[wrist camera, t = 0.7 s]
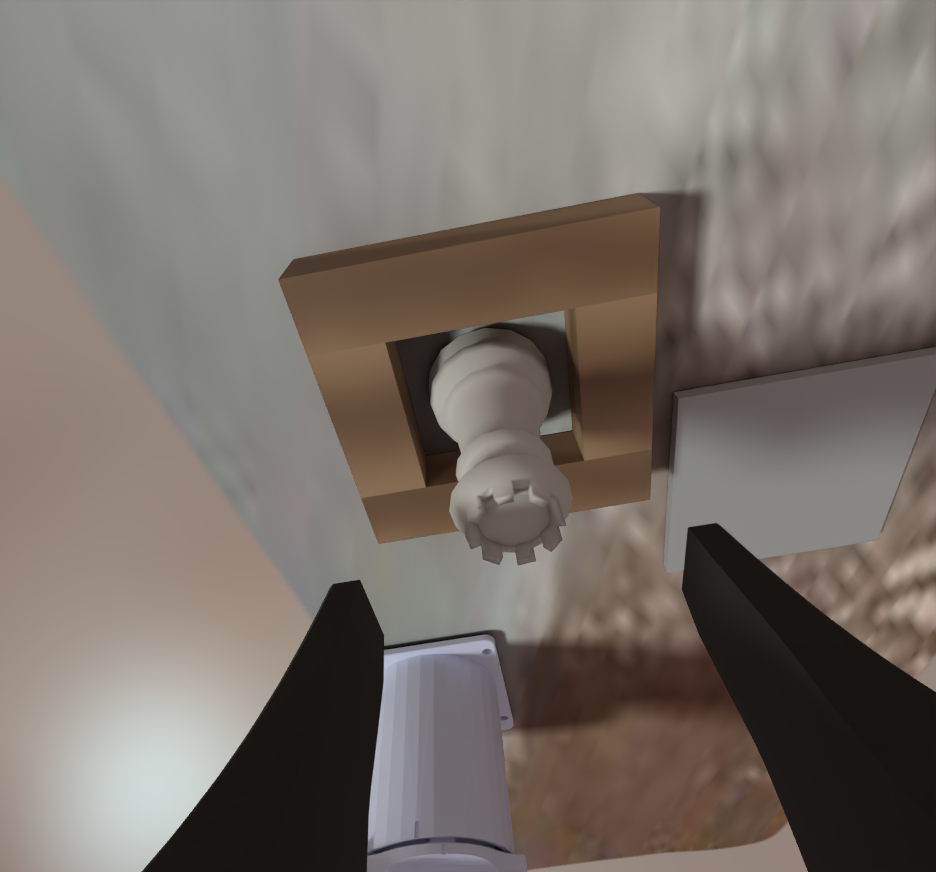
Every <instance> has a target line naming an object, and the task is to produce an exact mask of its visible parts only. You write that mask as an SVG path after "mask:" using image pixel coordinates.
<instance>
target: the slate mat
mask: <svg viewBox="0 0 936 872" xmlns="http://www.w3.org/2000/svg"><path fill="white" fill-rule="evenodd" d="M935 389H936V347H932V348H926V349H920V350H915V351H909V352H903V353H897V354H892V355H886V356H880V357H874V358H868V359H863V360H857V361H851V362H845V363H840V364H834V365H828V366H822V367H817V368H811V369H805V370H799V371H793V372H788V373H782V374H776V375H770V376H765V377H759V378H753V379H747V380H741V381H736V382H730V383H724V384H718V385H713V386H707V387H701V388H695V389H690V390H684V391H678V392H674V396H673V413H672V430H671V446H670V463H669V480H668V497H667V513H666V530H665V547H664V564H663V565H664V568H665V570H666V572H667V573H671V572H678V571H684V562H685V551H686V541H687V530H688V527H693V526H699V525H706V524H712V523H718V524H719V525H720V526H722V527H723V528H724V529H725V530H726V531H727V532H728V533H729V534H731V535H732V536H733V537H734V538H735V539H736V540H737V541H738V542H739V543H741V544H742V545H743V546H744V547H745V548H746V549H747V550H748V551H749V552H751V553H752V554H753V555H754V556H755V557H756V558H757V559H761V558H767V557H774V556H780V555H786V554H793V553H799V552H806V551H812V550H818V549H825V548H831V547H838V546H844V545H850V544H857V543H863V542H870V541H876V540H878V537H879V535H880V532H881V530H882V527H883V524H884V522H885V519H886V516H887V514H888V511H889V509H890V506H891V503H892V501H893V498H894V496H895V493H896V490H897V488H898V485H899V483H900V480H901V477H902V475H903V472H904V470H905V467H906V464H907V462H908V459H909V457H910V454H911V451H912V449H913V446H914V444H915V441H916V438H917V436H918V433H919V430H920V428H921V425H922V423H923V420H924V417H925V415H926V412H927V410H928V407H929V404H930V402H931V399H932V397H933V394H934V391H935Z"/></svg>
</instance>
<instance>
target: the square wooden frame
mask: <svg viewBox="0 0 936 872" xmlns="http://www.w3.org/2000/svg"><path fill="white" fill-rule="evenodd" d="M659 231H660V206H658V205H657V204H655V203H653V202H651V201H650V200H648V199H646V198H645V197H643V196H641V195H639V194H638V193H636V194H631V195H626V196H621V197H616V198H611V199H605V200H600V201H595V202H590V203H585V204H579V205H574V206H569V207H564V208H559V209H553V210H548V211H543V212H538V213H533V214H527V215H522V216H517V217H512V218H507V219H501V220H496V221H491V222H486V223H481V224H476V225H470V226H465V227H460V228H455V229H450V230H444V231H439V232H434V233H429V234H424V235H418V236H413V237H408V238H403V239H398V240H392V241H387V242H382V243H377V244H372V245H366V246H361V247H356V248H351V249H346V250H340V251H335V252H330V253H325V254H320V255H315V256H309V257H304V258H299V259H294V260H293V261H292V262H291V263H290V265H289V266H288V267H287V269H286V270H285V271H284V273H283V274H282V275H281V277H280V278H279V279H278V280H279V283H280V286H281V288H282V291H283V293H284V296H285V299H286V301H287V304H288V307H289V309H290V312H291V314H292V317H293V320H294V322H295V325H296V328H297V330H298V333H299V336H300V338H301V341H302V343H303V346H304V349H305V351H306V354H307V357H308V359H309V362H310V365H311V367H312V370H313V372H314V375H315V378H316V380H317V383H318V386H319V388H320V391H321V394H322V396H323V399H324V401H325V404H326V407H327V409H328V412H329V415H330V417H331V420H332V423H333V425H334V428H335V430H336V433H337V436H338V438H339V441H340V444H341V446H342V449H343V452H344V454H345V457H346V459H347V462H348V465H349V467H350V470H351V473H352V475H353V478H354V481H355V483H356V486H357V488H358V491H359V494H360V496H361V499H362V502H363V504H364V507H365V510H366V512H367V515H368V517H369V520H370V523H371V525H372V528H373V531H374V533H375V536H376V539H377V541H378V544H382V543H388V542H394V541H400V540H406V539H412V538H419V537H425V536H431V535H437V534H443V533H449V532H455V531H459V530H458V529H457V528H456V526H455V523H454V521H453V519H452V517H451V514H450V512H449V510H450V501H451V493H452V491H453V490H454V488H455V487H456V485H457V484H458V479H457V477H456V468H457V460H458V458H459V457H460V455H461V451H460V450H458V451H452V452H446V453H440V454H434V455H428V456H426V453H425V449H424V445H423V441H422V438H421V434H420V430H419V427H418V423H417V419H416V415H415V412H414V408H413V404H412V401H411V397H410V393H409V390H408V386H407V382H406V378H405V375H404V371H403V367H402V364H401V360H400V356H399V352H398V349H397V345H396V341H398V340H403V339H408V338H414V337H419V336H425V335H430V334H436V333H441V332H447V331H452V330H458V329H463V328H469V327H474V326H480V325H485V324H491V323H496V322H501V321H507V320H512V319H518V318H523V317H529V316H534V315H540V314H545V313H551V312H556V311H562V310H564V314H565V328H566V343H567V357H568V371H569V386H570V400H571V414H572V429H573V431H569V432H563V433H557V434H551V435H545V436H540V439H541V441H542V442H543V443H544V444H545V445H546V446H547V447H548V448H549V449H550V452H551V456H552V460H553V464H554V465H555V466H556V467H557V468H558V469H559V470H560V472H561V473H562V474H563V475H564V476H565V477H566V478H567V479H568V480H569V484H570V488H571V492H572V496H573V500H572V503H571V507H570V511H569V513H571V512H577V511H584V510H590V509H596V508H602V507H608V506H614V505H620V504H626V503H632V502H639V501H645V500H650V489H651V460H652V432H653V403H654V374H655V346H656V317H657V288H658V260H659Z"/></svg>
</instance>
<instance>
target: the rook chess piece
mask: <svg viewBox="0 0 936 872" xmlns="http://www.w3.org/2000/svg"><path fill="white" fill-rule="evenodd" d="M552 391H553V390H552V386H551V382H550V376H549V372H548V368H547V364H546V359H545V357H544V356H543V354H542V353H541V352H540V351H539V350H538V348H537V347H536V346H535V345H534V343H533V342H532V341H531V340H529V339H527V338H525V337H523V336H521V335H519V334H517V333H515V332H513V331H511V330H506V329H493V328H483V329H479V330H476V331H473V332H469V333H466V334H463V335H460V336H459V337H457V338H456V339H455V340H454V341H452V342H451V343H450V344H448V345H447V346H446V347H445V348H443V349H442V350H441V351H440V353H439V355H438V357H437V359H436V360H435V362H434V364H433V366H432V368H431V369H430V378H429V394H430V396H431V402H430V404H431V406H432V409H433V411H434V414H435V416H436V419H437V422H438V424H439V425H440V427H441V428H442V429H443V430H444V431H445V432H446V433H447V434H448V435H449V436H450V437H451V438H452V439H453V440H454V441H456V442H457V443H458V444H459V448H460V451H461V455H460V457H459V458H458V460H457V468H456V477H457V479H458V484H457V485H456V487H455V488H454V490H453V491H452V493H451V501H450V510H449V512H450V514H451V517H452V519H453V521H454V523H455V526H456V528H457V529H458V530H459V531H461V532H462V533H463V534H464V535H465V536H466V539H467V541H468V543H469V546H470V548H471V549H473V548H476V547H478V546H482V555H483V560H486V561H489V562H492V563H495V564H498V565H499V564H500V562H501V560H502V558H503V554H502V552H516V558H517V564H518V565H522V564H526V563H530V562H534V561H536V558H535V554H534V549H533V548H534V547H536V546H538V545H539V544H541V543H543V547H544V548H546V549H547V550H549V551H551V552H552V551H553V550H554V549H555V548H556V546H557V545H558V544H559V543H560V542H561V541H562V537H561V533H560V530H559V526H566V523H565V519H566V518H567V517H568V514H569V511H570V507H571V503H572V500H573V496H572V492H571V488H570V484H569V480H568V479H567V478H566V477H565V476H564V475H563V474H562V473H561V472H560V470H559V469H558V468H557V467H556V466H555V465H554V464H553V460H552V456H551V452H550V449H549V448H548V447H547V446H546V445H545V444H544V443H543V442H542V441H541V439H540V427H541V426H542V423H543V421H544V420H545V418H546V417H547V415H548V410H549V405H550V401H551V396H552Z"/></svg>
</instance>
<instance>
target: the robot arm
mask: <svg viewBox="0 0 936 872" xmlns="http://www.w3.org/2000/svg"><path fill="white" fill-rule="evenodd" d="M682 591H683V594H684V596H685V599H686V602H687V604H688V607H689V610H690V613H691V615H692V618H693V620H694V623H695V625H696V628H697V630H698V633H699V635H700V637H701V639H702V641H703V643H704V645H705V647H706V649H707V651H708V653H709V655H710V657H711V659H712V661H713V663H714V665H715V667H716V669H717V671H718V673H719V674H720V676H721V678H722V680H723V682H724V684H725V686H726V688H727V690H728V692H729V694H730V696H731V698H732V699H733V701H734V703H735V705H736V707H737V709H738V711H739V713H740V715H741V717H742V719H743V721H744V723H745V724H746V726H747V728H748V730H749V732H750V734H751V736H752V738H753V740H754V742H755V744H756V746H757V748H758V751H759V753H760V755H761V757H762V759H763V761H764V764H765V766H766V768H767V771H768V773H769V776H770V778H771V780H772V783H773V785H774V788H775V790H776V793H777V795H778V797H779V800H780V802H781V805H782V807H783V809H784V812H785V814H786V817H787V819H788V822H789V824H790V827H791V829H792V832H793V835H794V837H795V839H796V842H797V845H798V847H799V850H800V852H801V855H802V857H803V860H804V862H805V865H806V868H807V870H808V872H936V692H935V691H933V690H931V689H930V688H928V687H927V686H925V685H924V684H922V683H920V682H919V681H917V680H916V679H914V678H913V677H911V676H910V675H908V674H907V673H905V672H904V671H902V670H901V669H899V668H898V667H896V666H895V665H893V664H892V663H890V662H889V661H888V660H886V659H885V658H883V657H882V656H880V655H879V654H878V653H876V652H875V651H873V650H872V649H870V648H869V647H868V646H866V645H865V644H864V643H862V642H861V641H859V640H858V639H857V638H855V637H854V636H853V635H851V634H850V633H849V632H847V631H846V630H845V629H843V628H842V627H841V626H839V625H838V624H837V623H835V622H834V621H833V620H831V619H830V618H829V617H828V616H826V615H825V614H824V613H822V612H821V611H820V610H819V609H817V608H816V607H815V606H814V605H812V604H811V603H810V602H809V601H807V600H806V599H805V598H804V597H802V596H801V595H800V594H799V593H798V592H796V591H795V590H794V589H793V588H791V587H790V586H789V585H788V584H787V583H785V582H784V581H783V580H782V579H781V578H779V577H778V576H777V575H776V574H775V573H774V572H772V571H771V570H770V569H769V568H768V567H767V566H765V565H764V564H763V563H762V562H761V561H760V560H759V559H757V558H756V557H755V556H754V555H753V554H752V553H751V552H749V551H748V550H747V549H746V548H745V547H744V546H743V545H742V544H741V543H739V542H738V541H737V540H736V539H735V538H734V537H733V536H732V535H731V534H729V533H728V532H727V531H726V530H725V529H724V528H723V527H722V526H720V525H719V524H718V523H712V524H706V525H699V526H693V527H688V530H687V541H686V551H685V562H684V573H683V583H682ZM513 726H514V722H513V717H512V712H511V708H510V704H509V700H508V696H507V691H506V687H505V683H504V679H503V674H502V670H501V666H500V662H499V658H498V653H497V649H496V645H495V641H494V638H493V637H492V636H490V635H479V636H472V637H465V638H459V639H452V640H446V641H439V642H433V643H426V644H420V645H413V646H407V647H400V648H394V649H387V650H384V634H383V632H382V630H381V627H380V625H379V623H378V620H377V618H376V616H375V614H374V611H373V609H372V607H371V604H370V602H369V600H368V597H367V595H366V593H365V590H364V588H363V586H362V584H361V581H360V580H355V581H349V582H343V583H337V584H333V585H332V586H331V587H330V589H329V591H328V593H327V595H326V597H325V599H324V601H323V603H322V605H321V607H320V609H319V611H318V613H317V615H316V617H315V619H314V621H313V623H312V625H311V626H310V628H309V630H308V632H307V634H306V636H305V638H304V640H303V642H302V644H301V645H300V647H299V649H298V651H297V653H296V654H295V656H294V658H293V660H292V662H291V663H290V665H289V667H288V669H287V671H286V672H285V674H284V676H283V678H282V679H281V681H280V683H279V685H278V686H277V688H276V689H275V691H274V693H273V694H272V696H271V698H270V699H269V701H268V702H267V704H266V706H265V707H264V709H263V710H262V712H261V714H260V715H259V717H258V719H257V720H256V722H255V723H254V725H253V726H252V728H251V730H250V731H249V733H248V734H247V736H246V737H245V739H244V740H243V742H242V743H241V745H240V746H239V747H238V749H237V750H236V752H235V753H234V755H233V756H232V758H231V759H230V761H229V762H228V763H227V765H226V766H225V768H224V769H223V770H222V772H221V773H220V775H219V776H218V777H217V779H216V780H215V782H214V783H213V784H212V785H211V787H210V788H209V789H208V791H207V792H206V793H205V795H204V796H203V797H202V798H201V800H200V801H199V803H198V804H197V805H196V807H195V808H194V809H193V810H192V812H191V813H190V814H189V816H188V817H187V818H186V819H185V821H184V822H183V823H182V824H181V826H180V827H179V828H178V829H177V831H176V832H175V833H174V834H173V836H172V837H171V838H170V839H169V841H168V842H167V843H166V844H165V845H164V846H163V848H162V849H161V850H160V851H159V852H158V853H157V855H156V856H155V857H154V858H153V859H152V860H151V861H150V863H149V864H148V865H147V866H146V867H145V868H144V870H143V871H142V872H527V864H526V856H525V855H524V854H514V845H513V835H512V826H511V816H510V807H509V797H508V788H507V778H506V769H505V759H504V750H503V740H502V731H503V730H508V729H511V728H512V727H513Z"/></svg>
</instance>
